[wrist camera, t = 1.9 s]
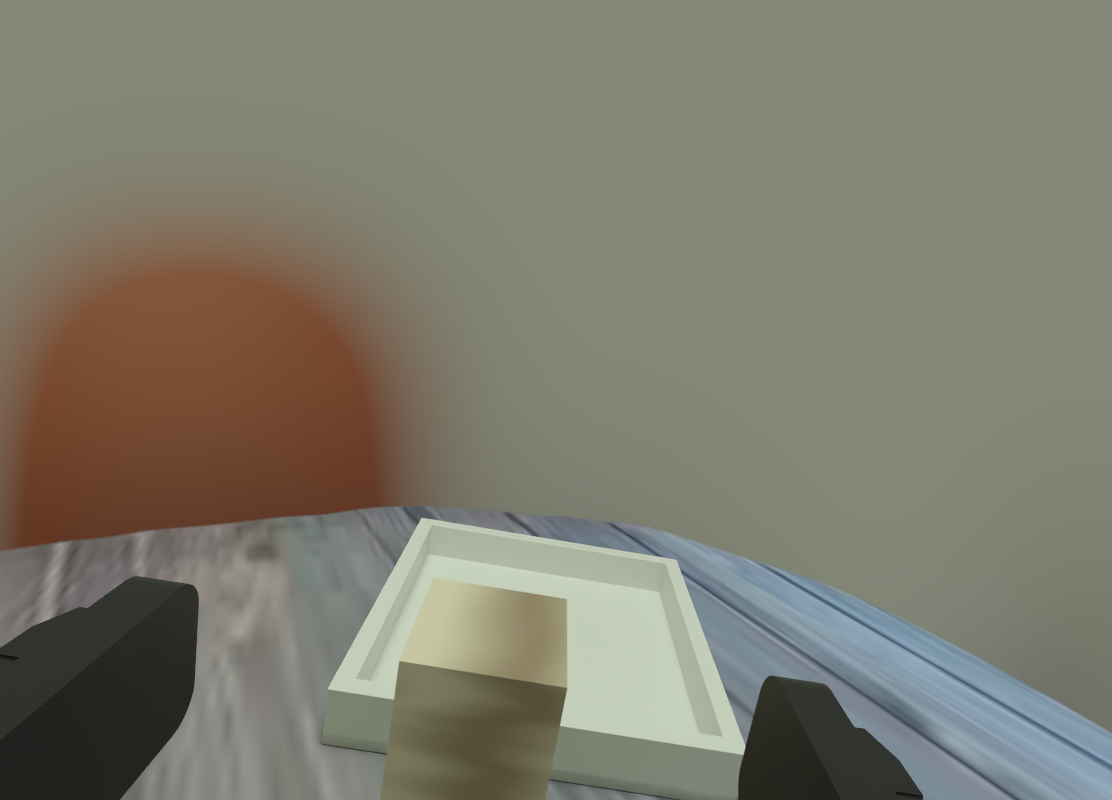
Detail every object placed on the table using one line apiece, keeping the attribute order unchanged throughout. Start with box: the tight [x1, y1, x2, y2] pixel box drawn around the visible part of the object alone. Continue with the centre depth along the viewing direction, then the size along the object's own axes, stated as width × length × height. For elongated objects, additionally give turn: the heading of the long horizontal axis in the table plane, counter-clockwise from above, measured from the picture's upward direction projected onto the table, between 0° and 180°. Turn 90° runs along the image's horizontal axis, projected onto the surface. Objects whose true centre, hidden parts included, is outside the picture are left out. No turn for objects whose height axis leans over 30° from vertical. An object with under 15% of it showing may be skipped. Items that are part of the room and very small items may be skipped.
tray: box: [322, 518, 745, 800], centre depth 40 cm, size 20×20×3 cm
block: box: [381, 577, 567, 800], centre depth 22 cm, size 5×5×12 cm
